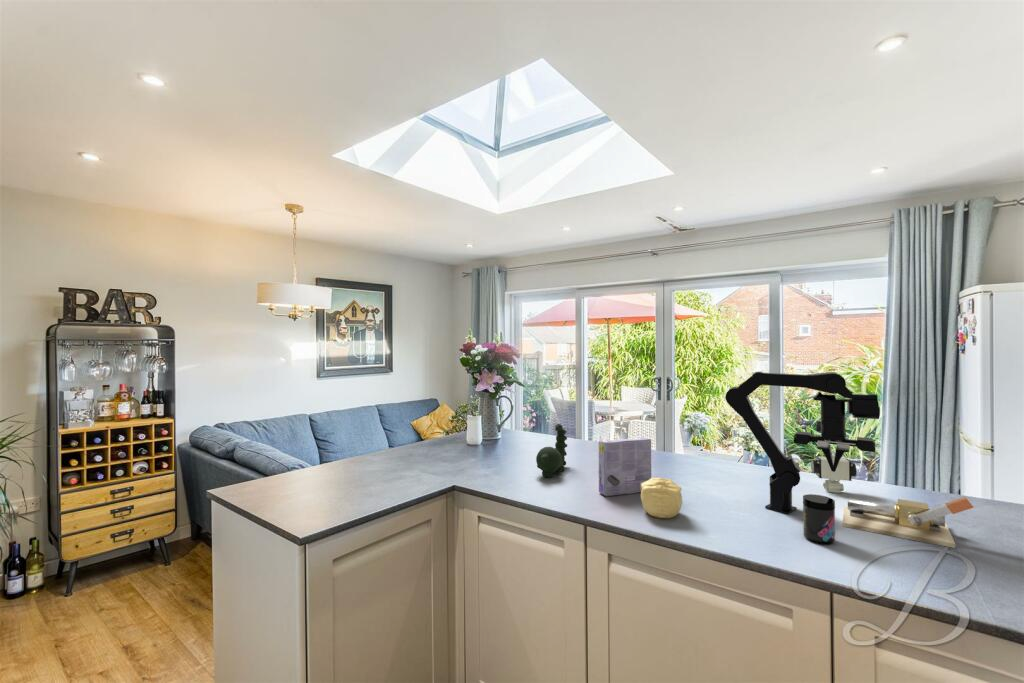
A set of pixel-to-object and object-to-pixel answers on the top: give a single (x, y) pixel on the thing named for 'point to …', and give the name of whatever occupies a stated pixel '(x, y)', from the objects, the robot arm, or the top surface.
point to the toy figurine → (553, 455)
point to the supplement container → (819, 519)
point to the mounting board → (897, 529)
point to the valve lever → (940, 511)
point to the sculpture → (661, 497)
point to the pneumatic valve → (842, 472)
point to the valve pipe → (895, 512)
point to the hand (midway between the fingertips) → (833, 471)
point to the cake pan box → (624, 465)
